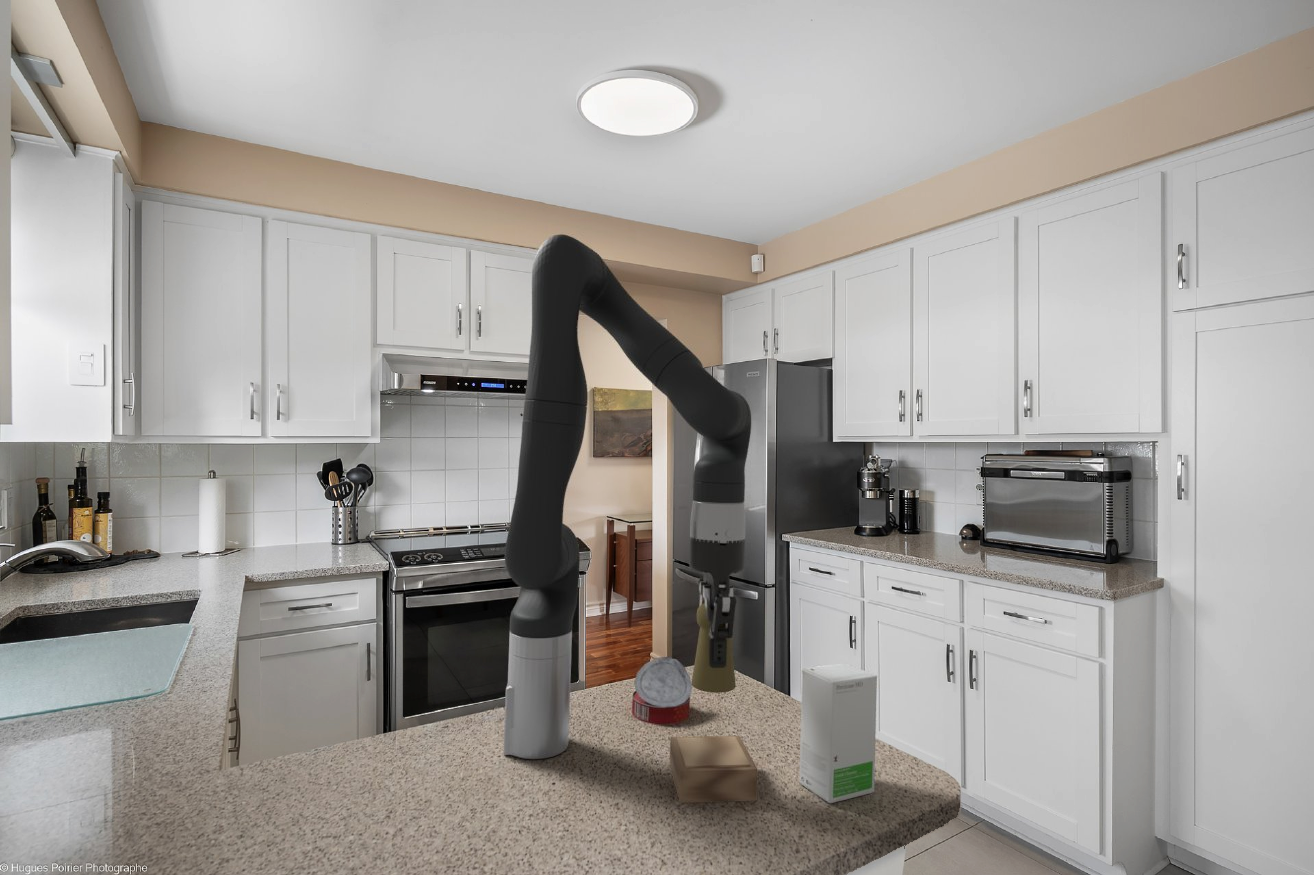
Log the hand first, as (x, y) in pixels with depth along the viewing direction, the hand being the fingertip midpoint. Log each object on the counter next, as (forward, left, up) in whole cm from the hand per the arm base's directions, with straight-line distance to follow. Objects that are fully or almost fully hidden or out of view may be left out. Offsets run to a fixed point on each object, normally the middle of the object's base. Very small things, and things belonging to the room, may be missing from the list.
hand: (714, 660), depth 91 cm
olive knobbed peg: (0, 0, -3) cm, 3 cm away
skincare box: (+17, -2, -17) cm, 24 cm away
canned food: (-4, +24, -17) cm, 29 cm away
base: (0, 0, -16) cm, 16 cm away
